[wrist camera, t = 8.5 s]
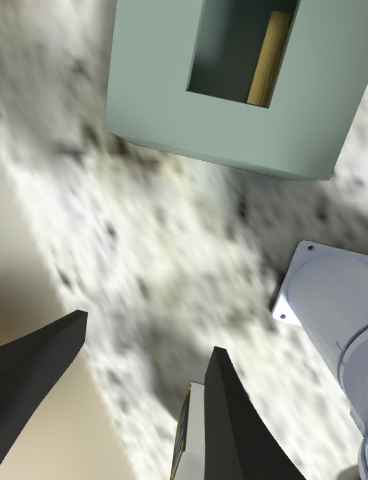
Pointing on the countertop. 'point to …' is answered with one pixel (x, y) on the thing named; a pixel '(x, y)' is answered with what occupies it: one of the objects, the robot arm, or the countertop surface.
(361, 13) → the box
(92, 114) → the countertop surface
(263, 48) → the gold rectangular block
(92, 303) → the countertop surface
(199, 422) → the medicine bottle
